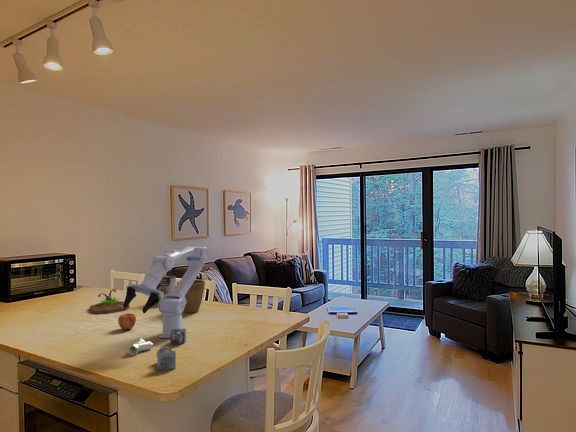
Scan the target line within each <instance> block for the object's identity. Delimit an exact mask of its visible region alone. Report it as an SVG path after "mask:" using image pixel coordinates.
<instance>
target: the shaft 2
mask: <svg viewBox="0 0 576 432" xmlns="http://www.w3.org/2000/svg"><path fill="white" fill-rule="evenodd" d="M168 339H169V343H170V344H172V345H173V346H178V345H180V344H186V342H187V328H182V329H171V335H170V337H169V338H168Z"/></svg>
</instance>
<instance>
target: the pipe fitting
mask: <svg viewBox="0 0 576 432" xmlns="http://www.w3.org/2000/svg"><path fill="white" fill-rule="evenodd" d="M153 346H154V343H152V342H151V341H150V340H147V341H146V340H145V339H144V338H139V339H137V340H136V341H134V343H133V344H131V345H129V346H128V347H127V354H129V355H130V356H135V355H137V354H139V353H141V352H146V351H150V350H151V349H152V347H153Z"/></svg>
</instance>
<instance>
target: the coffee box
mask: <svg viewBox="0 0 576 432" xmlns="http://www.w3.org/2000/svg"><path fill="white" fill-rule="evenodd" d="M176 278H177V276H176V275H164V276H163V278H162V279H161V281H160V283H159V284H158V286H157V287H156V290H158V291H161V292H163V293H164V297H165V295H166V294H168V293H170V292H173V290H174V289H175V288H176V286H177V284H176V283H177V279H176ZM160 300H161V299H160V298H159V301H160ZM158 304H159V302H158V303H157V304H156V305H158Z"/></svg>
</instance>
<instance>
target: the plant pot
mask: <svg viewBox="0 0 576 432" xmlns="http://www.w3.org/2000/svg"><path fill="white" fill-rule="evenodd" d="M179 282H180V280H179V281H176V286H177V285H178V283H179ZM205 286H206V281H205V280H203V279H195V280H194V282H193V284H192V285H191V287H190V288H189V290H188V292H187V293H186V295H185V296H184V297H185V298H186V302H187V303H186V304H185V308H184V310H183V313H186V314H194V313H197V312H199V310H200V307H201V305H202V301H203V297H204V291H205Z"/></svg>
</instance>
